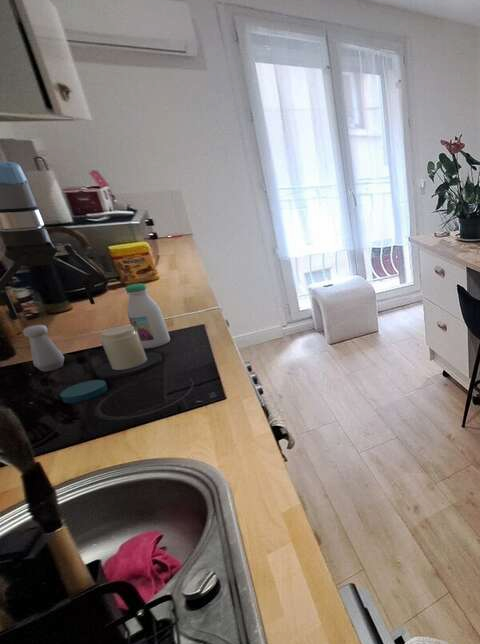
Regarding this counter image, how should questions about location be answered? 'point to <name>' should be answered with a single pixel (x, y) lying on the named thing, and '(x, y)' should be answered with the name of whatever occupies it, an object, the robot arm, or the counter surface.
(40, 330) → the salt shaker
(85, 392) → the lid
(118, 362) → the jar
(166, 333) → the milk bottle
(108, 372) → the trivet
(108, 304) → the counter surface
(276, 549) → the counter surface
